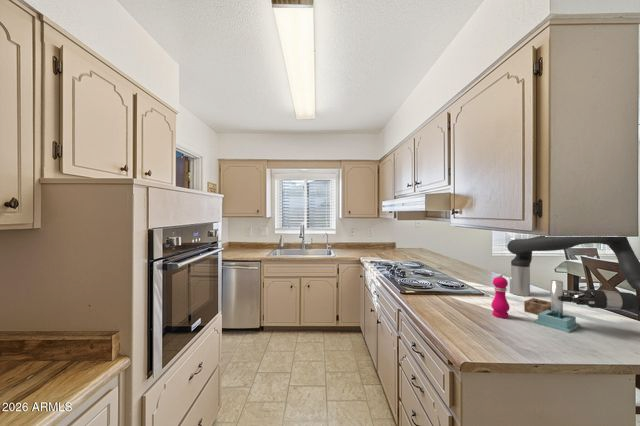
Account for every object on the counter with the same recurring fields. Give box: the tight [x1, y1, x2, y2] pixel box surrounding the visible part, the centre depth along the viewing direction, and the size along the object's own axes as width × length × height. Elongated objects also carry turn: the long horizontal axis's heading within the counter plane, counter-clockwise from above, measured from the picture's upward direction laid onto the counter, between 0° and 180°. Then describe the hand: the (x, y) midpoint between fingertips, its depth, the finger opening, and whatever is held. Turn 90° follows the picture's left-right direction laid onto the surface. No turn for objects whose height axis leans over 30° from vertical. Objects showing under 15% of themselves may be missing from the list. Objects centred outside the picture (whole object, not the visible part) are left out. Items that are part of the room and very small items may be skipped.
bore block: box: [523, 297, 551, 316], centre depth 135 cm, size 10×10×5 cm
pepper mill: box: [491, 273, 511, 319], centre depth 130 cm, size 7×7×20 cm
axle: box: [550, 279, 564, 319], centre depth 120 cm, size 4×4×18 cm
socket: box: [533, 310, 581, 333], centre depth 120 cm, size 12×12×4 cm
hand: (555, 295), depth 120 cm, fingers open, 8 cm apart
